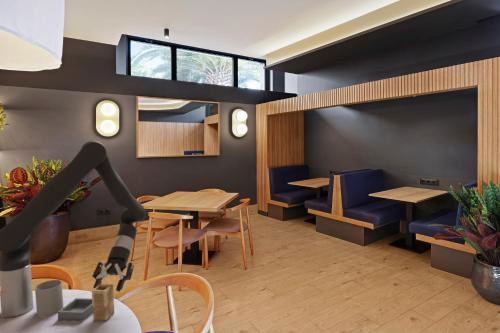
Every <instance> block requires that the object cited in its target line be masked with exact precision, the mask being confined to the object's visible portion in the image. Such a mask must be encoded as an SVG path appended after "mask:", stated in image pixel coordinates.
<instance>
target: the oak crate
mask: <svg viewBox="0 0 500 333" xmlns="http://www.w3.org/2000/svg"><path fill="white" fill-rule="evenodd" d="M91 299H92V306H93V313H92V321H93V322H108V320H110V319H111V317H113V315H115V300H114V299H115V298H114V284H108V283H101V284H100V285H98V286H97V287H96V288H95V289H94V288H93V289H92V290H91Z"/></svg>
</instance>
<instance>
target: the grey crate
mask: <svg viewBox="0 0 500 333" xmlns="http://www.w3.org/2000/svg"><path fill="white" fill-rule="evenodd" d="M91 315H93V306H92V298H85V297H83V298H81V297H75V298H74V299H73V300H72V301H69V303H68V304H66V305H65V306H63V308H62V309H61V310H60V311H58V313H57V320H58V321H76V322H77V321H79V322H80V321H81V322H84V321H85V320H86V319H87V318H88V317H89V316H91Z"/></svg>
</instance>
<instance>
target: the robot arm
mask: <svg viewBox="0 0 500 333" xmlns="http://www.w3.org/2000/svg"><path fill="white" fill-rule="evenodd" d="M93 170H95V171H96V172H97V174H98V175H99V176H100V179H101V180H102V182H103V184H104V186H105V188H106V190H107V191H108V193H109V195H110V196H111V198H112V199H113V201H114V203H115V204H116V205H117V206H118V207H122V208H123V207H124V210H122V213H120V218H119V228H118V229H119V230H118V231H117V234H116V237H115V239H114V240H113V243H112V246H111V249H110V251H109V254H108V257H107V261H106V262H105V263H104V262H101V261H99V262H97V264H96V267H95V269H94V271H93V273H92V278H94V279H95V282H94V284H93V289H95V288H96V287H97V286H98V285H100V284H102V281H103V280H104V279H105V278H107V277H109V276H119V280H118V282H117V285H116V287H115V291H116V292H121V291H122V290H123V289H124V288H123V287H124V284H125V282H126V281H131V279H132V275H133V272H134V269H135V265H134V264H133V263H132V262H128V261H129V258H130V256H131V252H132V250H133V246H134V241H135V238H136V235H137V231H138V229H137V227H136V226H135V225H133V224H136V223H138V222H142V221H143V220H145V219H146V216H147V211H146V208H145V207H144V205H143V204H142V203H141V202H140V201H139V200H137V199H136V197H134V196H133V195H132V193H131V192H130V190H129V188H128V187H127V185H126V184H125V183H124V181H123V180H122V178H121V177H120V175H119V174H118V173H117V171H116V170H115V168H114V167H113V164H112V163H111V161H110V159H109V156H108V151H107V148H106V146H105V145H104V144H103V143H102V142H100V141H98V140H88V141H87V142H85V143H84V144H83V145H82V146H81V148H80V150H79V151H78V153H77V154H76V156H74V158H73V159H72V160H71V161H70V162H69V163H68V165H67V166H65V167H64V168H63V169H61V170H60V171H58V172H57V173H56V174H55V175H54V176H52V177H50V179H49V180H47V182H46V183H45V184H44V185H43V186H42V187H41V188H40V189H39V190H38V191H37V192H36V194H34V196H33V197H32V198H31V199H30V201H28V203H27V204H26V205H25V206H24V208H23V209H22V210H21V212H20V213H19V214H17V215H16V216H15V217H14V218H13V219H12V220H11V221H9V223H7V224H6V225H5V226H3V228H1V229H0V252H1V253H0V312H1V318H2V319H3V318H13V317H14V318H15V317H17V316H20V315H21V316H22V315H24V314H26V313H28V312H30V311H31V310H32V309H33V308H34V296H33V281H32V269H31V257H32V241H31V240H32V239H31V237H32V236H31V234H32V233H33V232H34V230H35V229H36V228H37V227H38V226H39V225H40V224H41V223H42V222H43V221H44V220H46V219H47V218H48V217H49V216H51V215H52V214H53V213H54V212H56V210H57V209H59V207H61V206H62V204H63V203H64V202H66V200H67V199H68V198H69V197H70V196H71V195H72V194H73V192H75V190H76V189H77V187H78V186H79V185H80V184H81V182H82V181H83V180H84V179H85V178H86V176H87V175H88V174H90V173H91V172H92V171H93ZM124 270H126V271H125V272H126V273H124Z"/></svg>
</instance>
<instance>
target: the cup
mask: <svg viewBox="0 0 500 333" xmlns="http://www.w3.org/2000/svg"><path fill="white" fill-rule="evenodd" d="M34 289H35V290H34V292H35V305H36V316H38V317H40V318H41V317H42V318H43V317H49V316H53V315H55V314H58V311H60V310H61V309H62V308H63V307H64V297H63V296H64V294H63V282H62V280H60V279H52V280H45V281H43V282H41V283H39V284H37V285H36V286H35V287H34Z"/></svg>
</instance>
